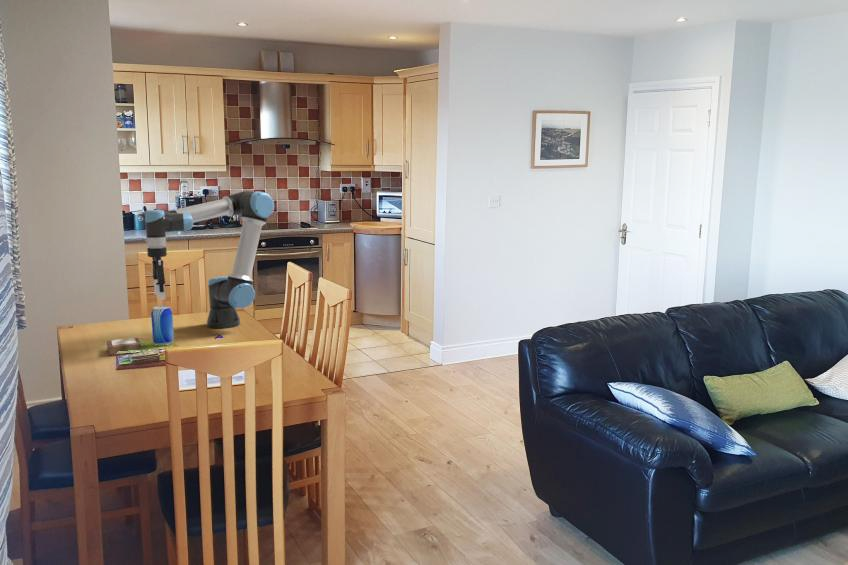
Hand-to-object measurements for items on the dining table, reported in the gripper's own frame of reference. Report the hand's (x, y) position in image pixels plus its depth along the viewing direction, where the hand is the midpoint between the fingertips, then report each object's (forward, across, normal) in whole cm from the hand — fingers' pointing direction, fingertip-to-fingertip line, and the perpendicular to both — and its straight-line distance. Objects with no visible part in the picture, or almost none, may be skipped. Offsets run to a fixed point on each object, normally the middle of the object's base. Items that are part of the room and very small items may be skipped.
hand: (159, 297), depth 305 cm
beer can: (+21, 0, 0) cm, 21 cm away
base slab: (+20, +4, -16) cm, 26 cm away
